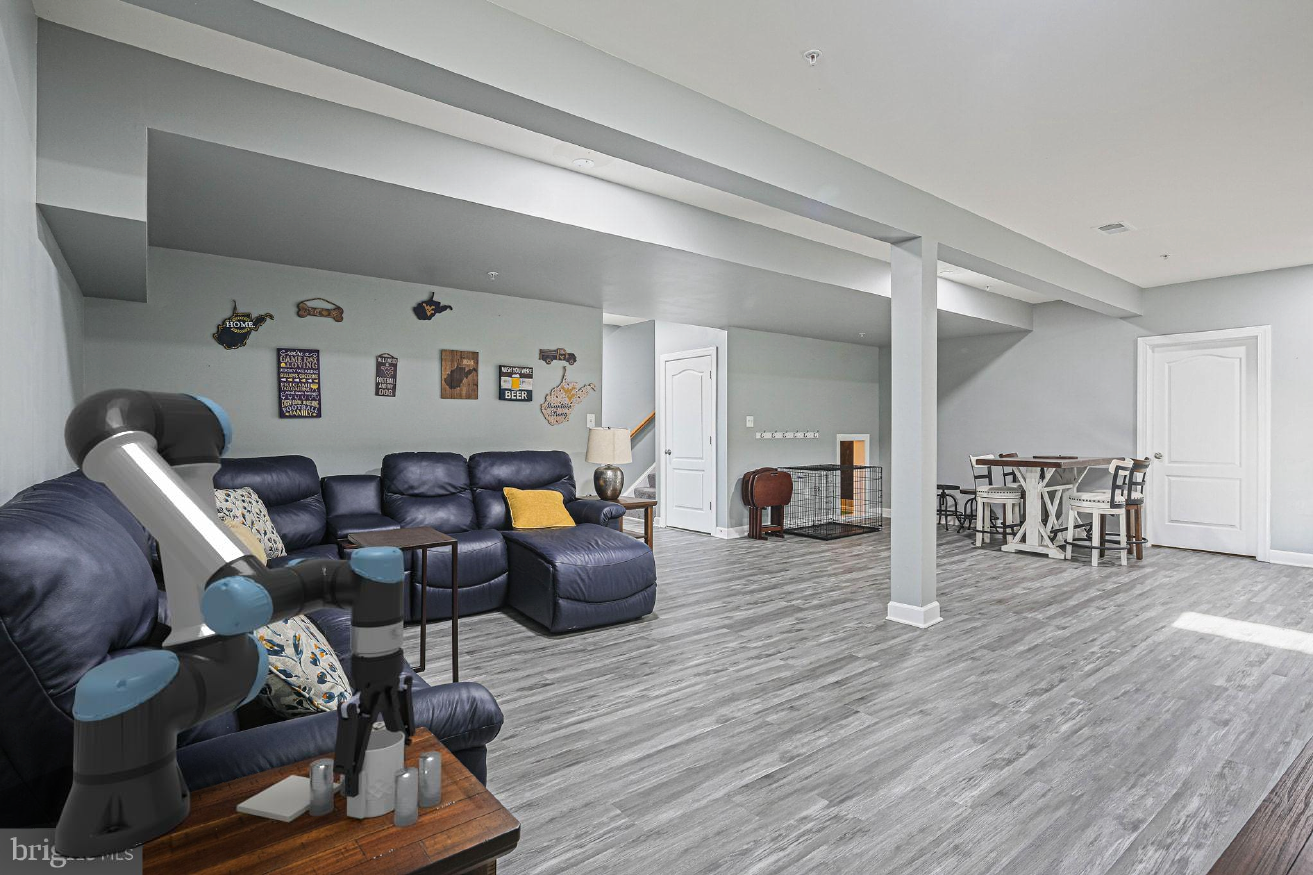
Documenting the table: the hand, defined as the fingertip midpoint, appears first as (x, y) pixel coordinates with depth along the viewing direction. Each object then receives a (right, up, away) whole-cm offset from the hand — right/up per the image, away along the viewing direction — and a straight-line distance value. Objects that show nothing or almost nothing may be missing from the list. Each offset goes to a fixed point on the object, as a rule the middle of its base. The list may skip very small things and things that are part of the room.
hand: (376, 801), depth 101 cm
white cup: (0, -1, 0) cm, 1 cm away
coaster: (-14, -1, +2) cm, 14 cm away
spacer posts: (0, -1, 0) cm, 1 cm away
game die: (-5, -1, +13) cm, 14 cm away
